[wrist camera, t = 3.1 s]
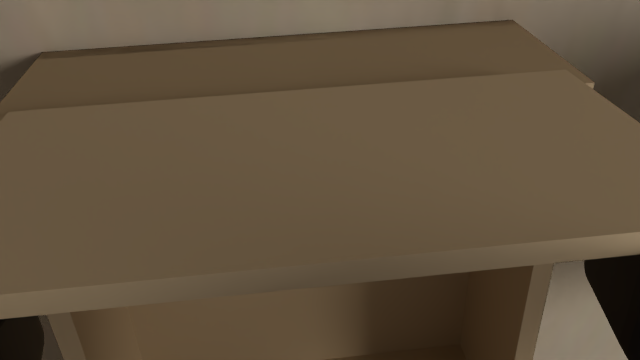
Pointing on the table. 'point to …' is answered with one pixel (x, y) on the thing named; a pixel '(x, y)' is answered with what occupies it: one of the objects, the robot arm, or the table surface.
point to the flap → (310, 189)
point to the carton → (319, 302)
